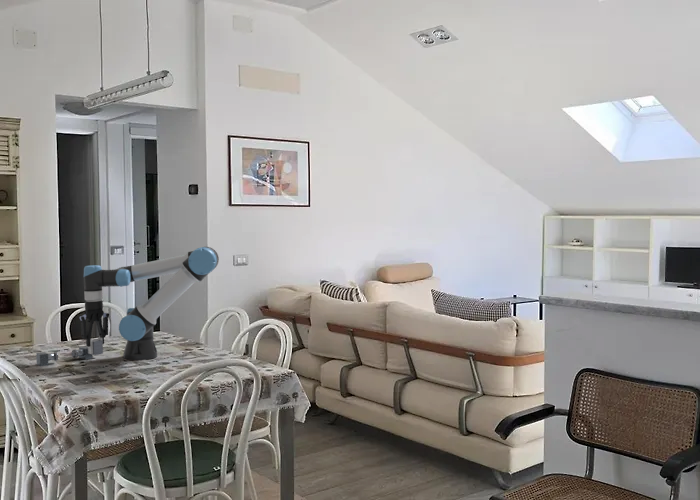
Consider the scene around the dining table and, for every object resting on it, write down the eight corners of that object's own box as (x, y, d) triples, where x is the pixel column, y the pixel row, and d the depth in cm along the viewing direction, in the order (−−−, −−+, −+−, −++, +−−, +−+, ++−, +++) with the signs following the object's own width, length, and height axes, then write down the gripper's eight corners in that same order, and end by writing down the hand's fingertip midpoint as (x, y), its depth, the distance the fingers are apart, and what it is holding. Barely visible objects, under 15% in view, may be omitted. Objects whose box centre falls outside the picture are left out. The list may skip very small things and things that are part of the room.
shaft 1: (54, 362, 321) (54, 350, 321) (58, 363, 317) (58, 352, 317) (36, 364, 316) (36, 352, 316) (40, 366, 312) (39, 354, 312)
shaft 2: (85, 357, 333) (85, 346, 332) (92, 358, 330) (92, 347, 330) (70, 359, 326) (70, 348, 326) (77, 361, 323) (77, 350, 323)
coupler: (88, 353, 320) (87, 340, 320) (96, 352, 323) (96, 339, 323) (94, 355, 316) (93, 341, 316) (102, 353, 319) (102, 340, 319)
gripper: (107, 297, 327) (109, 348, 328) (71, 301, 315) (73, 354, 316) (115, 299, 322) (117, 350, 323) (79, 303, 310) (81, 356, 311)
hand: (95, 352), depth 320 cm, fingers closed on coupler, 4 cm apart
